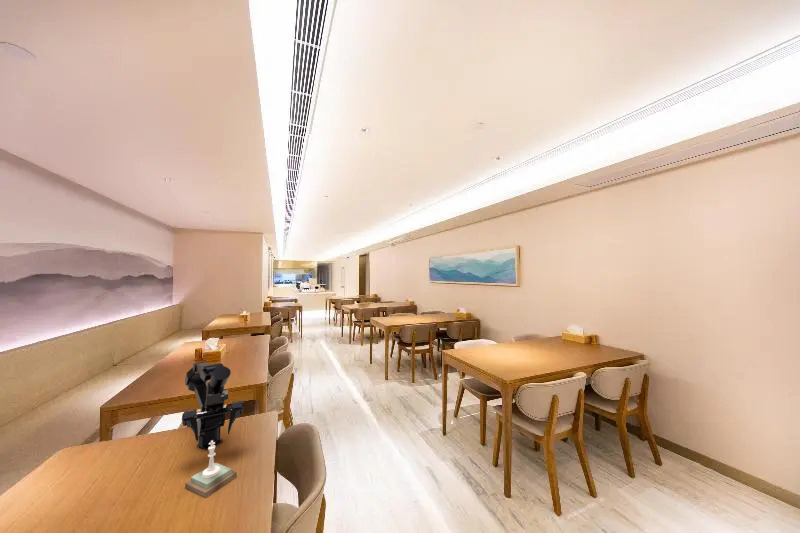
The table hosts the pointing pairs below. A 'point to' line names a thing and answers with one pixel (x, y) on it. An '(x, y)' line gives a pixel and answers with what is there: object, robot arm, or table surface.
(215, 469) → the chess piece
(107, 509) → the table surface
